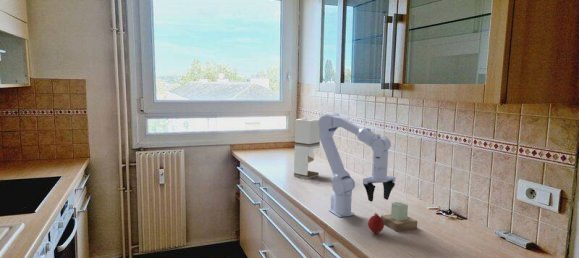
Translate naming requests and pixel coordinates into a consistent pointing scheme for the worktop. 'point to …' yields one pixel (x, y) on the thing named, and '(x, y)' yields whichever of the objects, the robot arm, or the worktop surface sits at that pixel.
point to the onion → (376, 223)
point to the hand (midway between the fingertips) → (378, 199)
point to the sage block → (399, 211)
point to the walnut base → (399, 223)
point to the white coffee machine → (305, 146)
